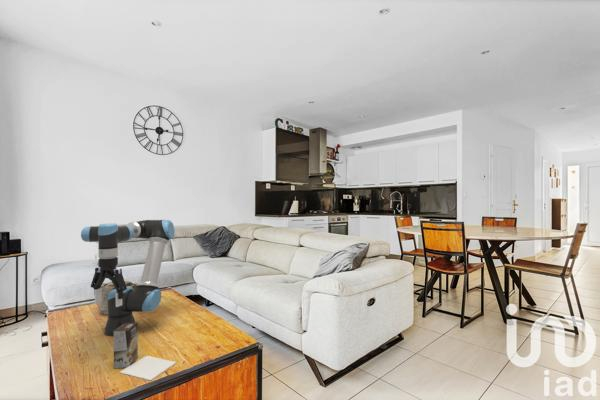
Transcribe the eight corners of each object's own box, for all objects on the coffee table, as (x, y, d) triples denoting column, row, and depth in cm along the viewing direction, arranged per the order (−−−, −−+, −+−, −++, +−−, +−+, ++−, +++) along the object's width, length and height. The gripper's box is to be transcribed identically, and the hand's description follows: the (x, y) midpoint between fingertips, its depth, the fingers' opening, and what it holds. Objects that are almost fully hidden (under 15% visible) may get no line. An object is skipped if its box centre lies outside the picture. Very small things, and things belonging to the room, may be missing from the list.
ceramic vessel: (124, 289, 217) (135, 264, 208) (137, 316, 206) (149, 291, 197) (88, 297, 198) (98, 270, 190) (100, 327, 187) (112, 300, 178)
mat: (119, 372, 125) (119, 372, 125) (146, 356, 138) (146, 355, 138) (150, 381, 120) (150, 380, 120) (176, 363, 133) (176, 362, 133)
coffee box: (128, 367, 129) (128, 330, 129) (113, 368, 129) (112, 331, 129) (138, 356, 138) (138, 321, 138) (123, 357, 138) (123, 322, 138)
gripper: (81, 257, 138) (81, 304, 138) (120, 260, 130) (121, 310, 130) (97, 254, 145) (97, 299, 145) (135, 257, 137) (135, 304, 137)
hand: (108, 304), depth 137 cm, fingers open, 12 cm apart
